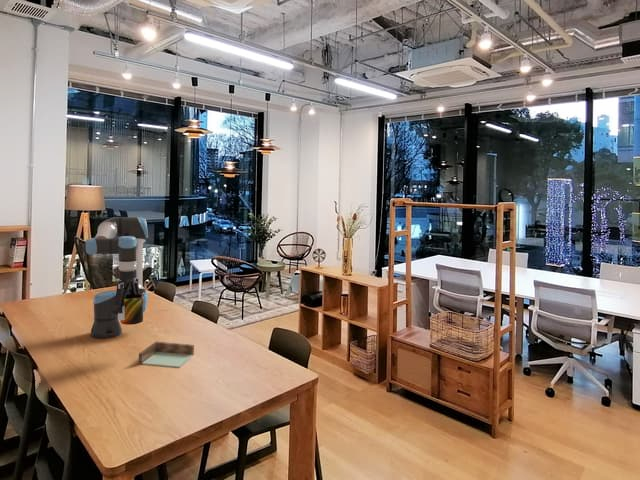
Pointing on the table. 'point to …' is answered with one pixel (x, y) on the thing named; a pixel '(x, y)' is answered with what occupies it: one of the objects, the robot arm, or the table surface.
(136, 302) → the mug
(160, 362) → the mat
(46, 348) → the table surface
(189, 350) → the walls
